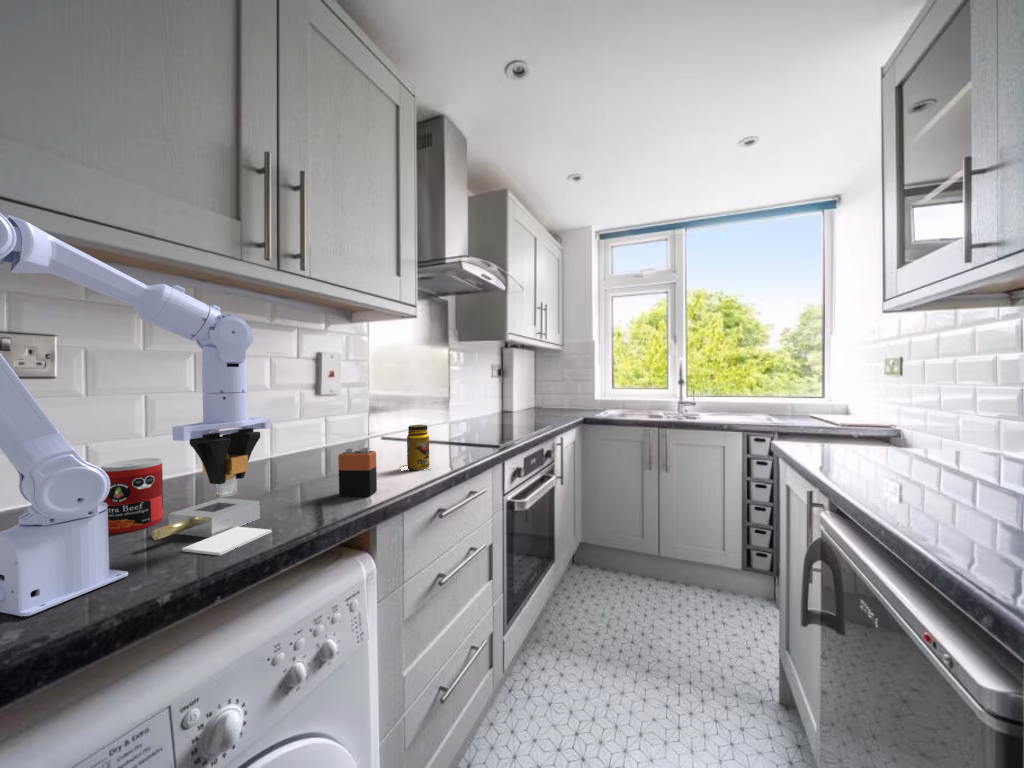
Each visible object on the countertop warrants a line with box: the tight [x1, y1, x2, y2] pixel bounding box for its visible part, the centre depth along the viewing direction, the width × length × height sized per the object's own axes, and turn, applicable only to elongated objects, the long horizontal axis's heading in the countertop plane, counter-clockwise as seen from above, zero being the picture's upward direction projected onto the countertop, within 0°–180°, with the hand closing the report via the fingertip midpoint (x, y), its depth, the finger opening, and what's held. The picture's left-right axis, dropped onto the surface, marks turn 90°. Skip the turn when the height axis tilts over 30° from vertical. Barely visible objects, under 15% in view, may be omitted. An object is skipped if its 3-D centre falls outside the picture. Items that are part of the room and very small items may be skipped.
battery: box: [338, 447, 378, 498], centre depth 88 cm, size 4×7×10 cm, turn 87°
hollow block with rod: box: [151, 497, 261, 541], centre depth 68 cm, size 14×9×3 cm, turn 166°
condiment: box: [398, 424, 432, 473], centre depth 113 cm, size 7×8×12 cm
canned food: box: [100, 457, 164, 534], centre depth 71 cm, size 8×8×11 cm
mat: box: [181, 526, 273, 556], centre depth 63 cm, size 9×7×1 cm
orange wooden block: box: [201, 454, 249, 498], centre depth 63 cm, size 6×3×6 cm, turn 76°
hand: (227, 480), depth 63 cm, fingers closed on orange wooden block, 3 cm apart
